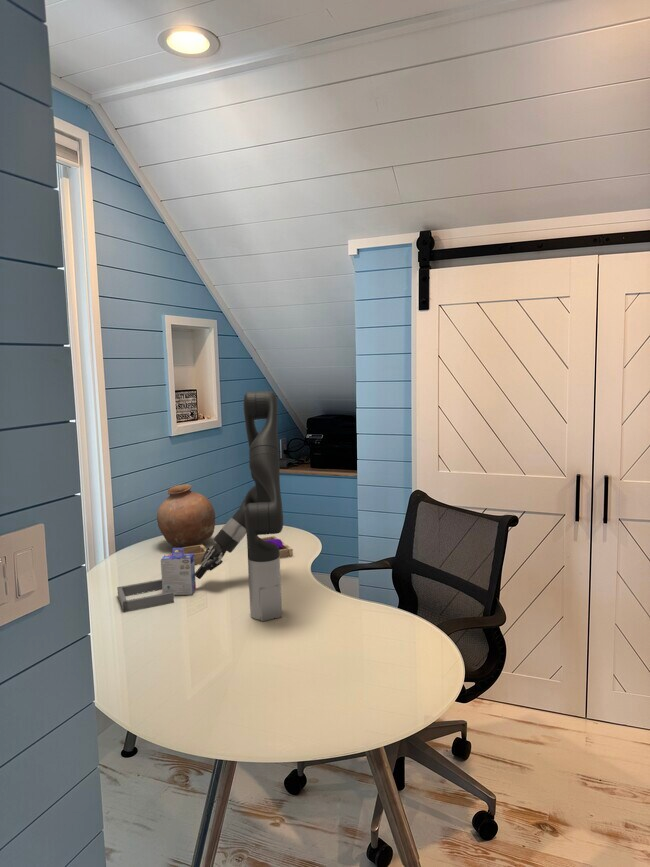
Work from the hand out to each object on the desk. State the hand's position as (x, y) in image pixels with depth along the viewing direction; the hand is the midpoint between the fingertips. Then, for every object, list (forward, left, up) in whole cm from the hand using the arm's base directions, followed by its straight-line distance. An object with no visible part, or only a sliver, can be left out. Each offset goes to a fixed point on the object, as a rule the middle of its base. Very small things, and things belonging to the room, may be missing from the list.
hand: (196, 577), depth 197 cm
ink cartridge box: (0, +6, -4) cm, 7 cm away
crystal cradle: (+25, -35, -4) cm, 43 cm away
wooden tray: (+30, -5, -4) cm, 30 cm away
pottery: (+50, -8, -4) cm, 51 cm away
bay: (0, +17, -4) cm, 17 cm away
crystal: (+26, -35, -4) cm, 44 cm away
